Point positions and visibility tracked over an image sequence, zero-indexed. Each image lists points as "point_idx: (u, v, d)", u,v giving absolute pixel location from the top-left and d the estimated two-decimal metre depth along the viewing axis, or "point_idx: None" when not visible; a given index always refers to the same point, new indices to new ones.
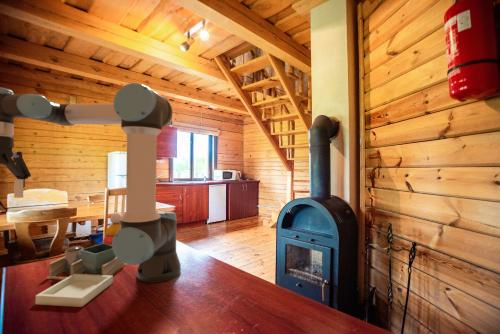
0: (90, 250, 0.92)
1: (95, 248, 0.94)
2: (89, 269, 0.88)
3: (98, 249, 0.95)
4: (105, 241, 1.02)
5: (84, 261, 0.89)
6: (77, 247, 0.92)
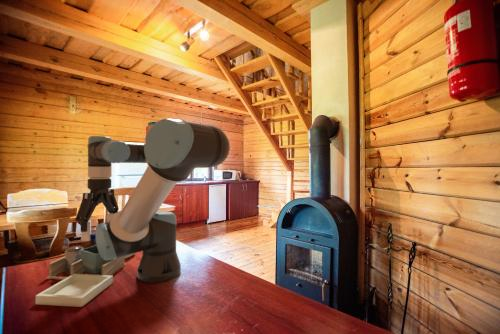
0: (90, 250, 0.92)
1: (95, 248, 0.94)
2: (89, 269, 0.88)
3: None
4: None
5: (84, 261, 0.89)
6: (77, 247, 0.92)
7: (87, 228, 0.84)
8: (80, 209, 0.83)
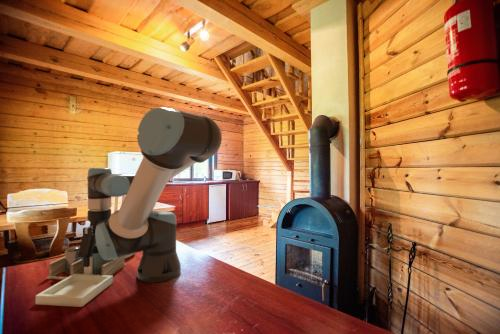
0: None
1: (95, 248, 0.94)
2: None
3: None
4: None
5: None
6: (77, 247, 0.92)
7: (90, 263, 0.85)
8: (82, 245, 0.83)
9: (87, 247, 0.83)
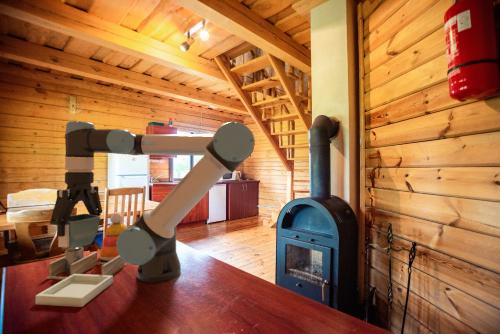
0: (69, 219, 0.79)
1: (76, 218, 0.80)
2: None
3: (79, 220, 0.81)
4: (105, 241, 1.02)
5: None
6: (77, 247, 0.92)
7: (65, 232, 0.71)
8: (55, 210, 0.70)
9: (61, 212, 0.70)
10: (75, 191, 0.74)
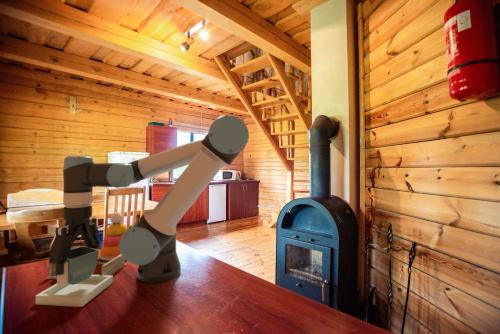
0: None
1: (73, 252, 0.79)
2: None
3: (77, 253, 0.80)
4: (105, 241, 1.02)
5: None
6: None
7: (64, 270, 0.70)
8: (54, 248, 0.69)
9: (60, 251, 0.69)
10: (74, 227, 0.73)
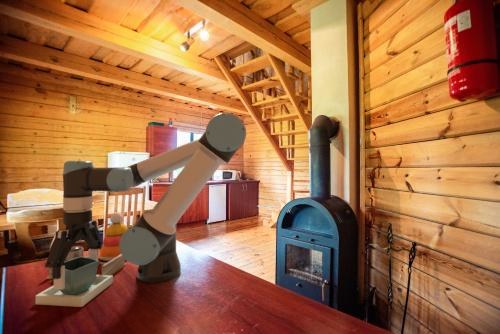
0: (65, 265, 0.77)
1: (72, 263, 0.79)
2: (64, 289, 0.73)
3: (75, 264, 0.80)
4: (105, 241, 1.02)
5: None
6: (77, 247, 0.92)
7: (61, 274, 0.69)
8: (52, 252, 0.68)
9: (58, 255, 0.68)
10: (74, 232, 0.73)
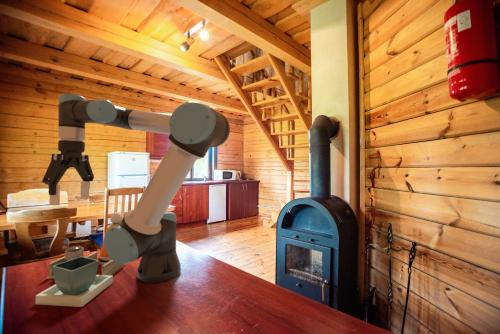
0: (65, 265, 0.77)
1: (72, 263, 0.79)
2: (64, 289, 0.73)
3: (75, 264, 0.80)
4: None
5: (57, 280, 0.73)
6: (77, 247, 0.92)
7: (56, 191, 0.77)
8: (48, 170, 0.76)
9: (54, 173, 0.76)
10: (68, 158, 0.82)
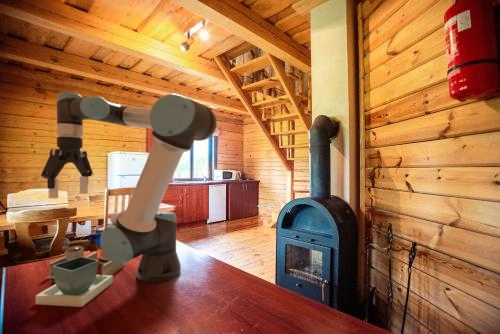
0: (65, 265, 0.77)
1: (72, 263, 0.79)
2: (64, 289, 0.73)
3: (75, 264, 0.80)
4: None
5: (57, 280, 0.73)
6: (77, 247, 0.92)
7: (54, 185, 0.81)
8: (47, 165, 0.80)
9: (52, 167, 0.80)
10: (66, 153, 0.85)
